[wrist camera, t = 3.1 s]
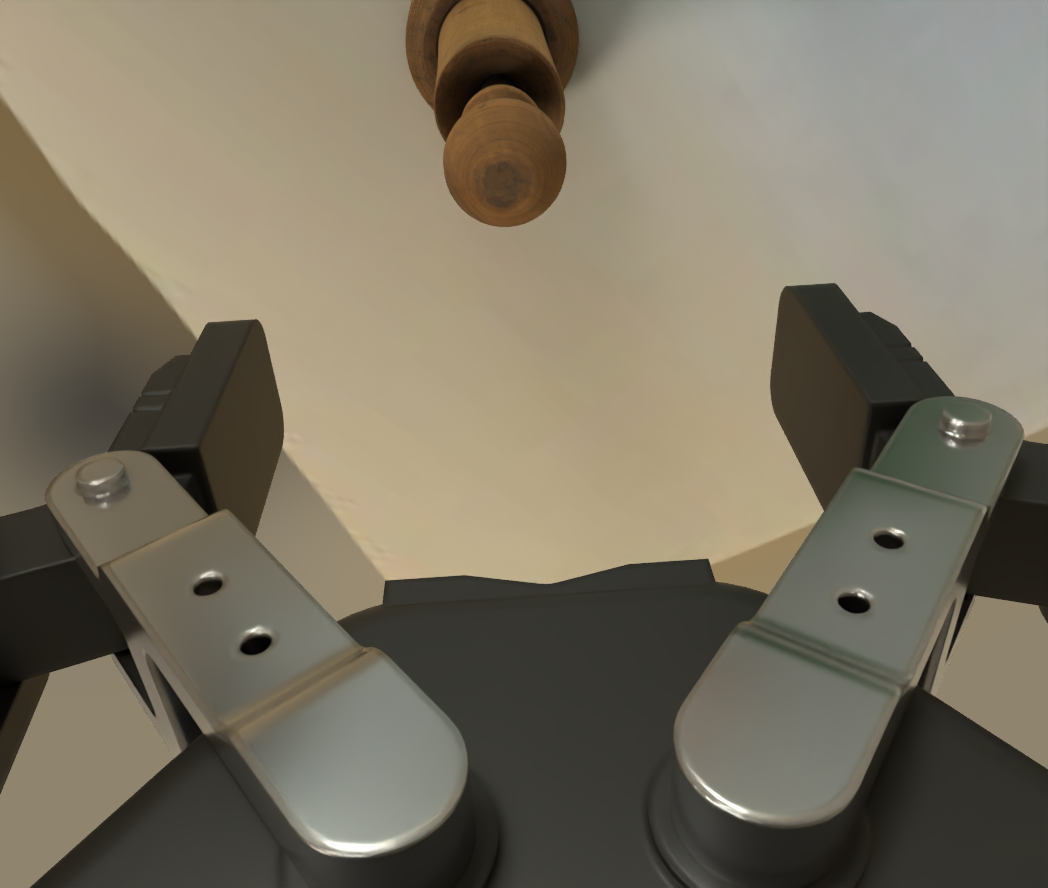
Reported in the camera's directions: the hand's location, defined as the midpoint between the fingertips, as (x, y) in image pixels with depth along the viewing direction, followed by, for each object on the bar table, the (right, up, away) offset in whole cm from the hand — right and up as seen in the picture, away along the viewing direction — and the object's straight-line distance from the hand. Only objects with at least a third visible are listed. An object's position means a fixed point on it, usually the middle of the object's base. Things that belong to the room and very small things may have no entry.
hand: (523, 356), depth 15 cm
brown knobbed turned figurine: (-1, +15, +22) cm, 27 cm away
